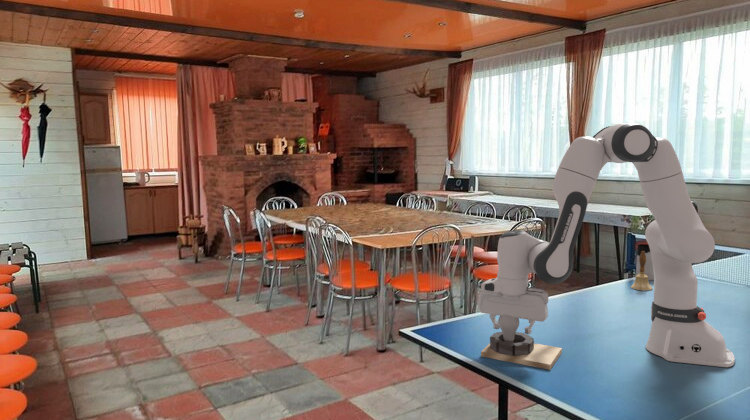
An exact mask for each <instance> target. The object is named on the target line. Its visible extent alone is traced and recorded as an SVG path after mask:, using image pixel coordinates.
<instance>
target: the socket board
mask: <svg viewBox="0 0 750 420" xmlns="http://www.w3.org/2000/svg"><path fill="white" fill-rule="evenodd" d="M562 353H563V347H558V346H552V345H546V344H541V343H536V342H535V340H534V338H533V337H532V336H530V334H525V332H518V331H516V332H515V336H514V340H513V343H509V342H504V338H503V332H502V331H497V332H494V333H493V334H491V336H489V343H488V344H487V345H486V346H485V347H484V348H483V349H482V350H481V351H480V357H483V358H488V359H493V360H498V361H503V362H509V363H512V364H518V365H523V366H530V367H534V368H538V369H545V370H549V371H551V370H552V368H553V367H554V366H555V364H556V362H557V361H558V360H559V358H560V357H561V355H562Z"/></svg>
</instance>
